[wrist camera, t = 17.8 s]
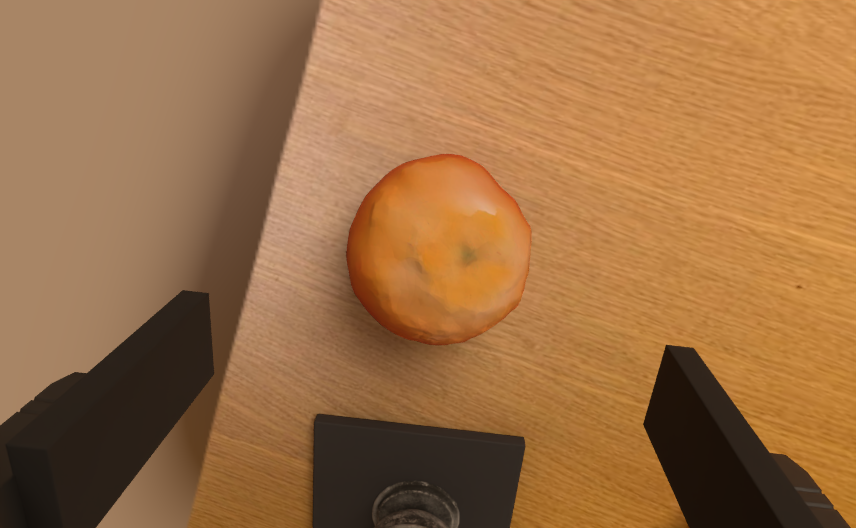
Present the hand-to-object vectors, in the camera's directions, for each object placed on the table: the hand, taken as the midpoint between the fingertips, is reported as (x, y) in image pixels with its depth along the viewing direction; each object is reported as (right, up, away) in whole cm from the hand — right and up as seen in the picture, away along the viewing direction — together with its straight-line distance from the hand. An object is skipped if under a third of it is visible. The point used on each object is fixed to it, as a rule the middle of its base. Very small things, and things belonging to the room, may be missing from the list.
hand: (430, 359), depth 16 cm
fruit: (+1, +5, +12) cm, 13 cm away
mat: (-1, -12, +18) cm, 22 cm away
